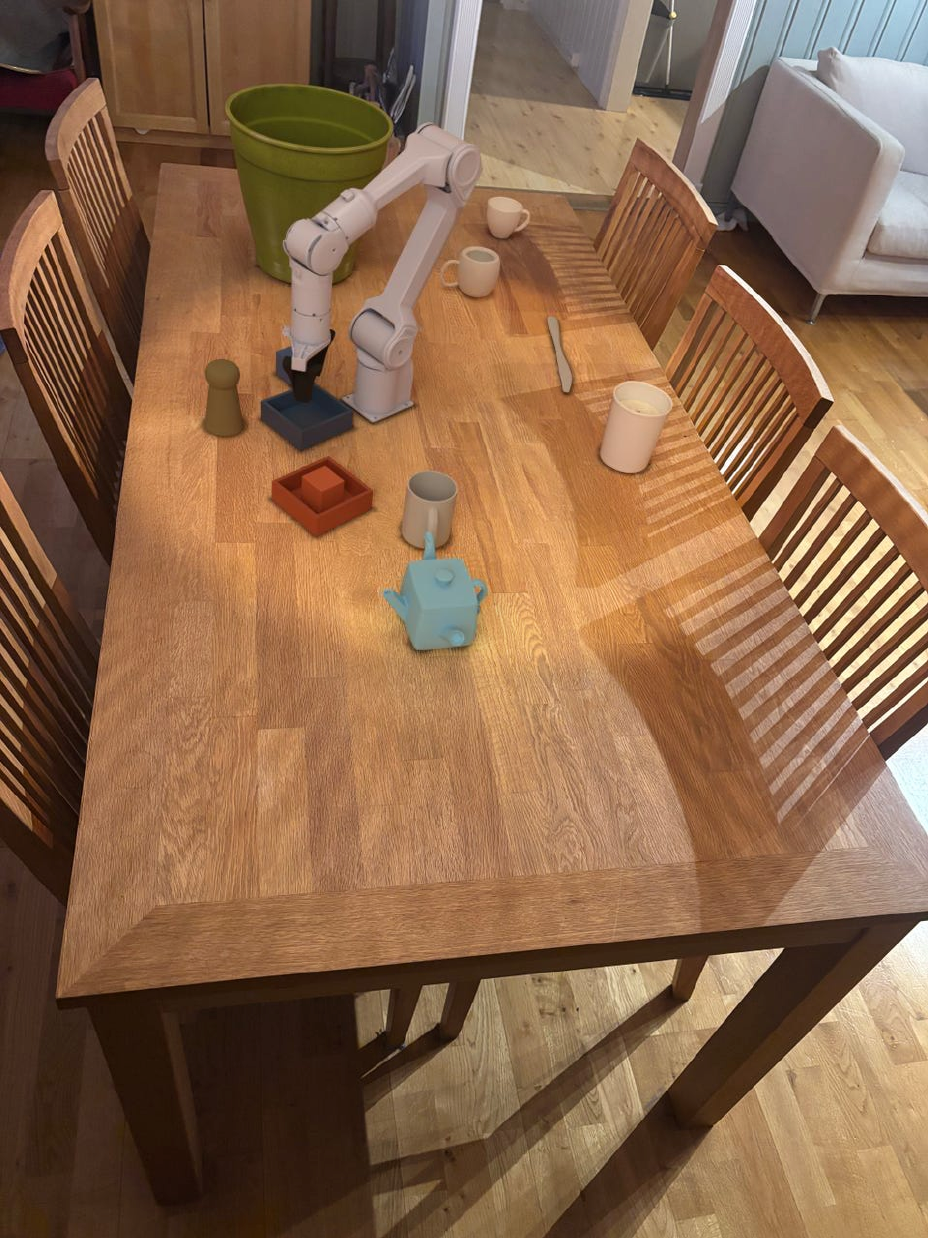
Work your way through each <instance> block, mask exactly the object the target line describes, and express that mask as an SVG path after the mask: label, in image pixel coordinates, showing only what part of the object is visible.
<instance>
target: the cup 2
mask: <svg viewBox="0 0 928 1238" xmlns="http://www.w3.org/2000/svg"><path fill="white" fill-rule="evenodd" d="M523 214H525V220H524V221H523V222H522V223H521V224H520V221H521V217H522V216H523ZM485 218H486V223H487V227H488V230H489V231H490V234H491V235H492V236H493V237H495V238H497V239H508V238H509V237H510V236H511V235H512V234H513V233H517V232H520V231H522V230H523V229H525V228H526V227H527V226H528V225H529V223H530V221H531V213H530V211H529V210H528V209H525V208H523V205H522V204H521V202H519V201H517V200H516V199H514V198H511V197H507V196H492V197H491V198H488V201H487V206H486V217H485ZM519 224H520V225H519Z"/></svg>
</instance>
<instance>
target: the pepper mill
mask: <svg viewBox="0 0 928 1238" xmlns="http://www.w3.org/2000/svg"><path fill="white" fill-rule="evenodd" d="M240 372H241V371H240V368H239V366H238V365H237V364H236V363H235V362H234V361H232V360H229V359H225V358H217V359H213V360H211V361H209V362H208V363H207V365H206V366H205V368H204V378H205V381H206V383H207V384H208V388H207V397H206V404H205V405H206V406H205V414H204V415H205V416H204V423H203V425H204V429H206V431H207V432H208V433H210V434H212V435H215V436H218V437H231V436H235V435H237V434H239V433H241V432H242V431H243V429H244V421H243V415H242V410H241V409H242V408H241V403H240V397H239V391H238V384H239V382H240V378H241V373H240Z"/></svg>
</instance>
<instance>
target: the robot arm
mask: <svg viewBox="0 0 928 1238" xmlns="http://www.w3.org/2000/svg"><path fill="white" fill-rule="evenodd" d="M403 148H404V149H403V151H402V152H401V153H400V154H399V155H397V156H396V158H394V159H393V160H392V161H391V162H390V163H389V164H388V165H387V166H386V167H384V169H383V170H381V173H380V174H379V175H378V176H376V177H375V178H374V179H373V180H372V181H371V182H370V183H369V184H368V185H367V186H366V187H365V188H364V189H362V190H360V189H356V188H350V189H348V190H345V191H344V192H342V193H341V194H340V197H338V198H337V199H336V200H335V201H333V202H332V203H331V204H330V205H328V206H327V207H326V208H325V209H323V210H322V211H321V212H319V213H318V214H317V215H316V216H314V217H313V218H312V219H306V220H305V219H302V220H299V221H296V222H295V223H294V224H292V225H291V227H290V228H289V230H288V232H287V235H286V239H285V240H283V248H284V251H285V252H286V254H287V255H288V256H289V259H290V267H291V269H292V283H291V287H290V289H291V290H290V291H291V292H290V325H286V326H284V327H283V329H282V332H281V333H282V335H281V336H283V337H285V338H288V339H289V344H290V347H291V349H292V353H293V356H292V357H291V356H285V357H284V359H283V361H282V365H283V369H284V370H285V372H286V373H287V375H288V377H289V379H290V382H291V385H292V386H291V385H290V386H291V389H293V394H294V397H295V400H296V401H299V402H304V403H309V401H310V398H311V395H312V391H313V386H314V382H315V381H316V378H317V377H319V378H320V377H321V375H322V372H323V368H324V365H325V361H326V356H327V353H328V351H329V347H330V346H331V344H332V342H333V341H334V340H335V337H336V331H335V329H332V328H331V317H332V298H333V297H332V294H333V284H332V279H333V270H336V268H337V267H338V266H339V264H340V262H341V260H342V258H343V255H344V254H345V253H346V252H347V249H349V247H348V246H349V245H350V244H351V243H353V242H354V241H355V240H356V239H358V238H359V237H360V236H361V235H362V234H363V235H364V234H366V232H367V231H369V230H370V229H372V227H374V226H375V225H376V223H377V221H378V213H379V211H380V210H381V209H383V208H384V207H386V206H387V205H389V204H390V203H391V202H394V201H395V200H396V199H397V198H399V197H401V196H402V195H404V194H405V193H406V192H408V191H409V190H411V189H412V188H415V186H417V185H418V184H423V185H424V189H425V193H426V197H427V200H426V203H425V204H424V206H423V208H422V211H421V213H420V215H419V216H418V219H417V221H416V223H415V225H414V227H413V229H412V231H411V233H410V236H409V238H408V240H407V242H406V244H405V245H404V248H403V250H402V252H401V254H400V256H399V258H398V260H397V262H396V264H395V267H394V268H393V270H392V272H391V275H390V276H389V278H388V281H387V283H386V285H385V287H384V289H383V291H382V292H381V294H378V295H375V296H372V297H369V298H366V299H365V301H364V303H363V305H362V307H361V308H360V310H359V311H358V312H357V313H356V314H355V315H354V316H353V317H352V319H351V321H350V322H349V326H348V339H349V341H350V342H351V343H352V344H353V345H354V349H353V350H354V351H353V352H355V353H356V362H355V373H354V374H355V375H354V386H353V387H354V388H353V392H352V393H350V394H348V395H345V396H343V397H342V398H341V402H343V403H344V404H345V405H347V406H348V407H349V408H351V409H352V410H353V411H356V412H357V413H359V415H362V417H364V418H365V419H367V420H368V421H369V422H371V423H376V422H378V421H382V420H383V419H385V418H387V417H390V416H393V415H395V414H397V413H399V412H401V411H404V410H406V409H409V408H410V407H413V406H414V402H413V401H412V400H411V397H412V396H411V395H412V389H413V381H414V372H415V370H414V369H415V368H414V364H413V360H412V358H411V356H412V354H413V352H414V351H413V350H414V346H415V340H416V339H417V336H418V334H419V332H420V329H419V325H418V322H417V320H416V316H415V314H414V309H415V307H416V305H417V303H418V300H419V299H420V297H421V295H422V292H423V291H424V289H425V287H426V285H427V282H428V281H429V279H430V278H431V277H430V276H431V275H432V273H433V271H434V269H435V267H436V265H437V263H438V261H439V259H440V257H441V255H442V253H443V250H444V249H445V247H446V245H447V243H448V241H449V239H450V237H451V235H452V233H453V231H454V229H455V227H456V225H457V223H458V221H459V219H460V217H461V215H462V213H463V211H464V210H465V207H466V205H467V203H468V201H469V199H470V197H471V196H472V193H473V191H474V189H475V187H476V185H477V183H478V181H479V180H480V178H481V175H482V173H483V171H484V167H483V162H482V161H483V160H482V155H481V151H480V149H479V147H477V145H474V144H473V143H469V142H467V141H465V140H463V139H461V138H459V137H457V136H456V135H454V134H452V133H450V132H448V131H447V130H445V129H443V128H441V127H440V126H439V125H438V124H437V123H434V122H431V121H430V122H429V121H428V122H427V121H426V122H425V123H422V124H421V125H419V126H418V127H417V128H416V129H415V131H414V132H412V133H410V134H409V135H408V136H407V138H406V140H405V144H404V147H403ZM363 235H362V236H363Z"/></svg>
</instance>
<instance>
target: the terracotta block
mask: <svg viewBox="0 0 928 1238" xmlns="http://www.w3.org/2000/svg"><path fill="white" fill-rule="evenodd" d="M344 483H345V481H344V480H343V479H342V478H340V477H339V476H338V475H336V474H335V473H334V472H333V471H331V470H330V469H329V468H328V467H326V466H323V467H321V468H319V469H317V470H315V471H312V472H310V473H308V474H306V475H303V476H302V488H301V500H302V501H303V502H305V503H306V504H307V505H308V506H309V507H311V508H312V509H313V510H314V511H316V512H317V513H318V514H320V513H322V512H324V511H326V510H328V509H330V508H332V507H334V506H336V505H338V504H340V503H342V502H343V496H344Z"/></svg>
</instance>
